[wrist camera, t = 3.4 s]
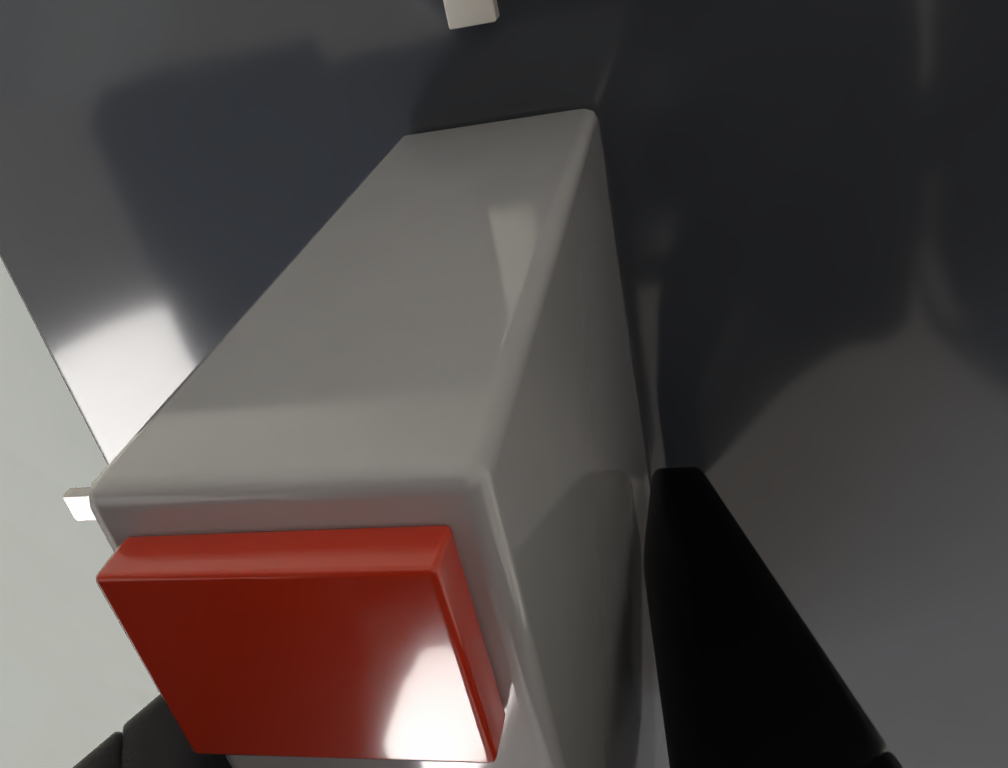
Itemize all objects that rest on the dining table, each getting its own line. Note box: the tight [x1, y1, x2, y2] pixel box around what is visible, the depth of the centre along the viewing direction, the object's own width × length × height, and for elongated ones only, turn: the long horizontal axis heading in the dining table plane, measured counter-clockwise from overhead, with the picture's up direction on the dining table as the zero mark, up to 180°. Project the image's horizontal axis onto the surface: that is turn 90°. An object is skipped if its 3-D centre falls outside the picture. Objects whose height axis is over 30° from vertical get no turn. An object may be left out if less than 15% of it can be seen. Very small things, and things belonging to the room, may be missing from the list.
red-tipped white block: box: [89, 109, 670, 768], centre depth 7 cm, size 7×2×5 cm, turn 11°
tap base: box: [0, 0, 1008, 768], centre depth 10 cm, size 12×11×3 cm
